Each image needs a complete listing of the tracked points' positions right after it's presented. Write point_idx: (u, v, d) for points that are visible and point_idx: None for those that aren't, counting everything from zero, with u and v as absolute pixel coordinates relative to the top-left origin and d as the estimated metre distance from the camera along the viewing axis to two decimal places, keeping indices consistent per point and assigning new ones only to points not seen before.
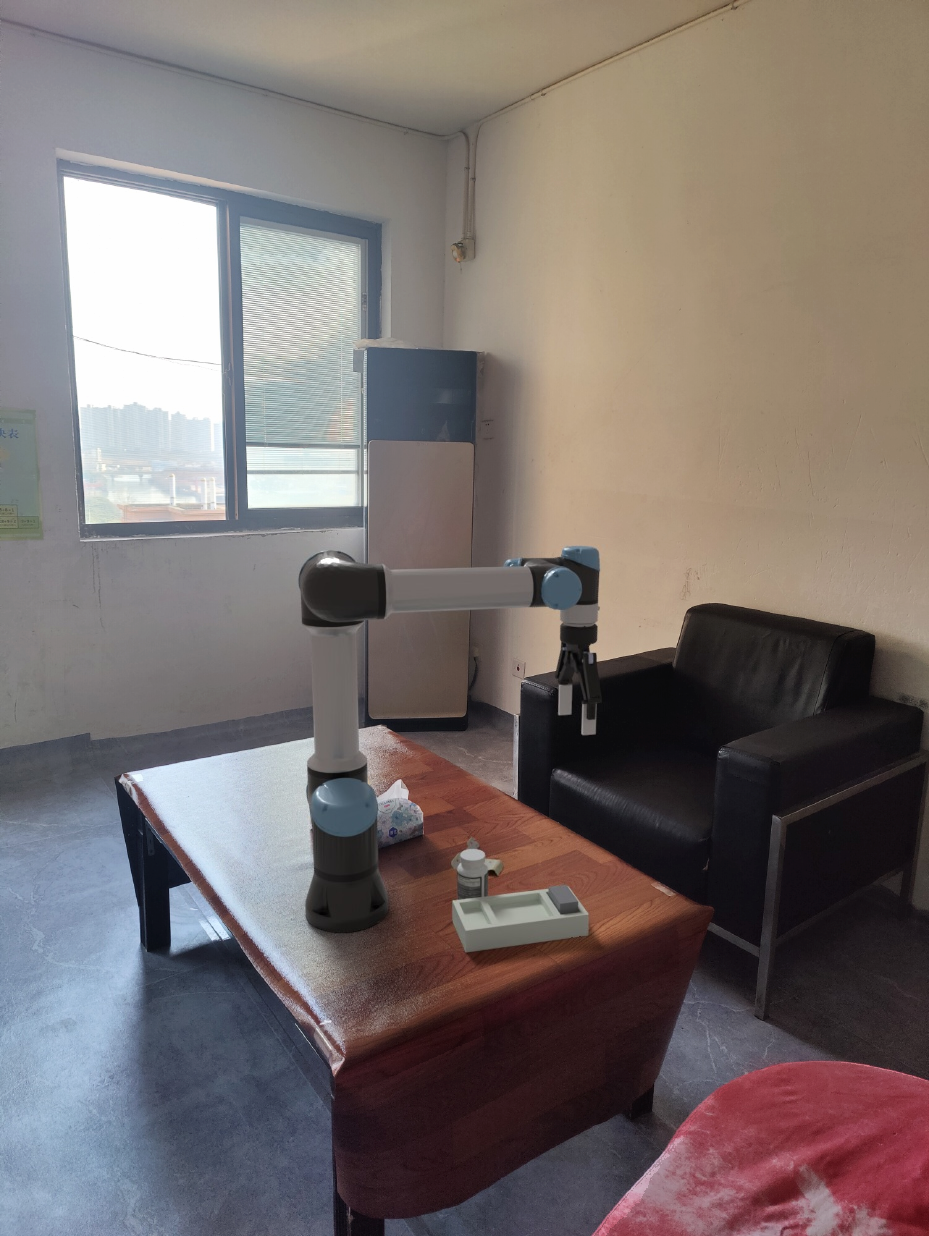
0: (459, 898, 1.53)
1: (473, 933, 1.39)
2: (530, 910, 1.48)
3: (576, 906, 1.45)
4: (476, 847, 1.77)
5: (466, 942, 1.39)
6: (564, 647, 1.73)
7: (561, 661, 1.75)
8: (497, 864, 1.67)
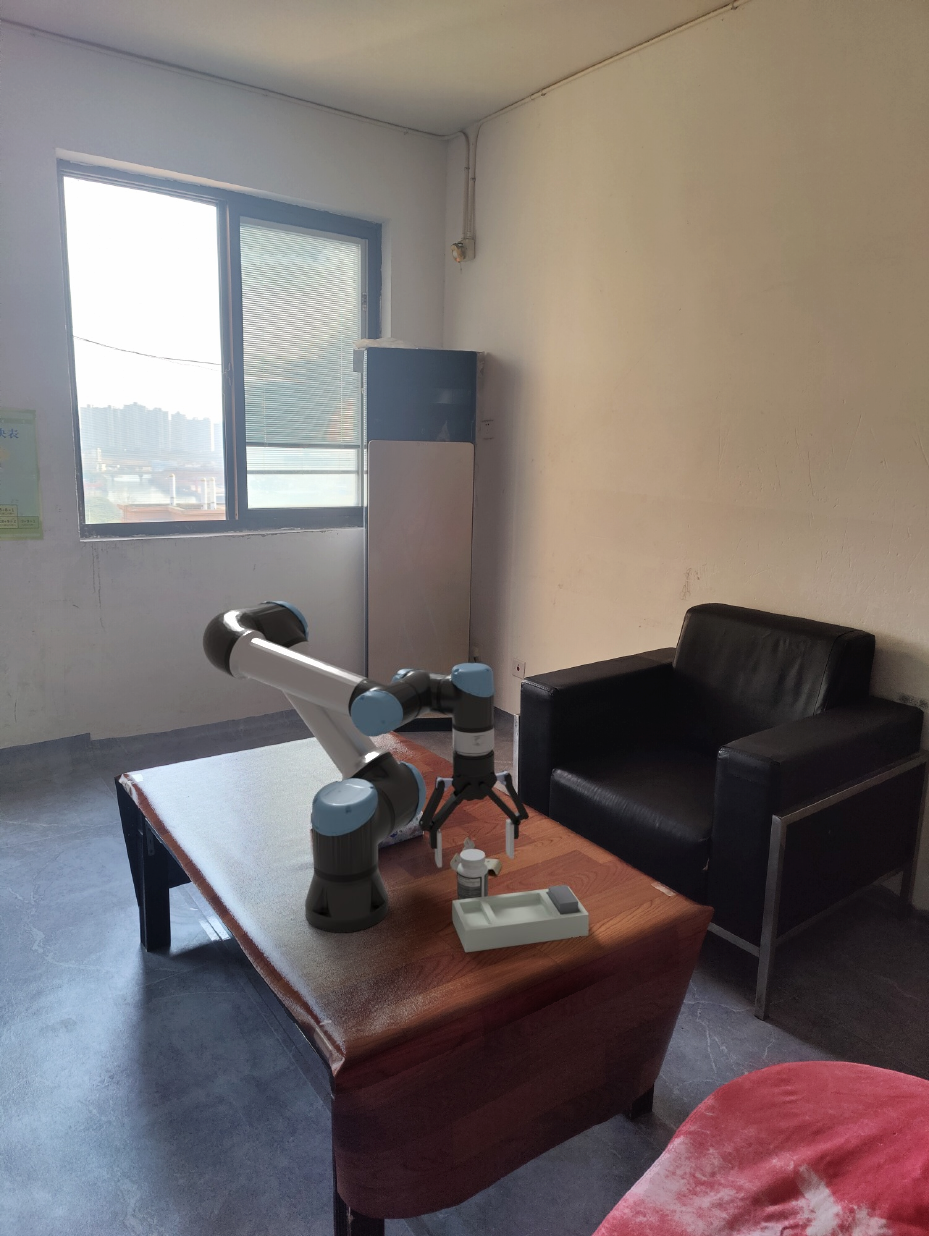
0: (459, 898, 1.53)
1: (473, 933, 1.39)
2: (530, 910, 1.48)
3: (576, 906, 1.45)
4: (472, 847, 1.77)
5: (466, 942, 1.39)
6: None
7: (509, 794, 1.53)
8: (496, 864, 1.68)
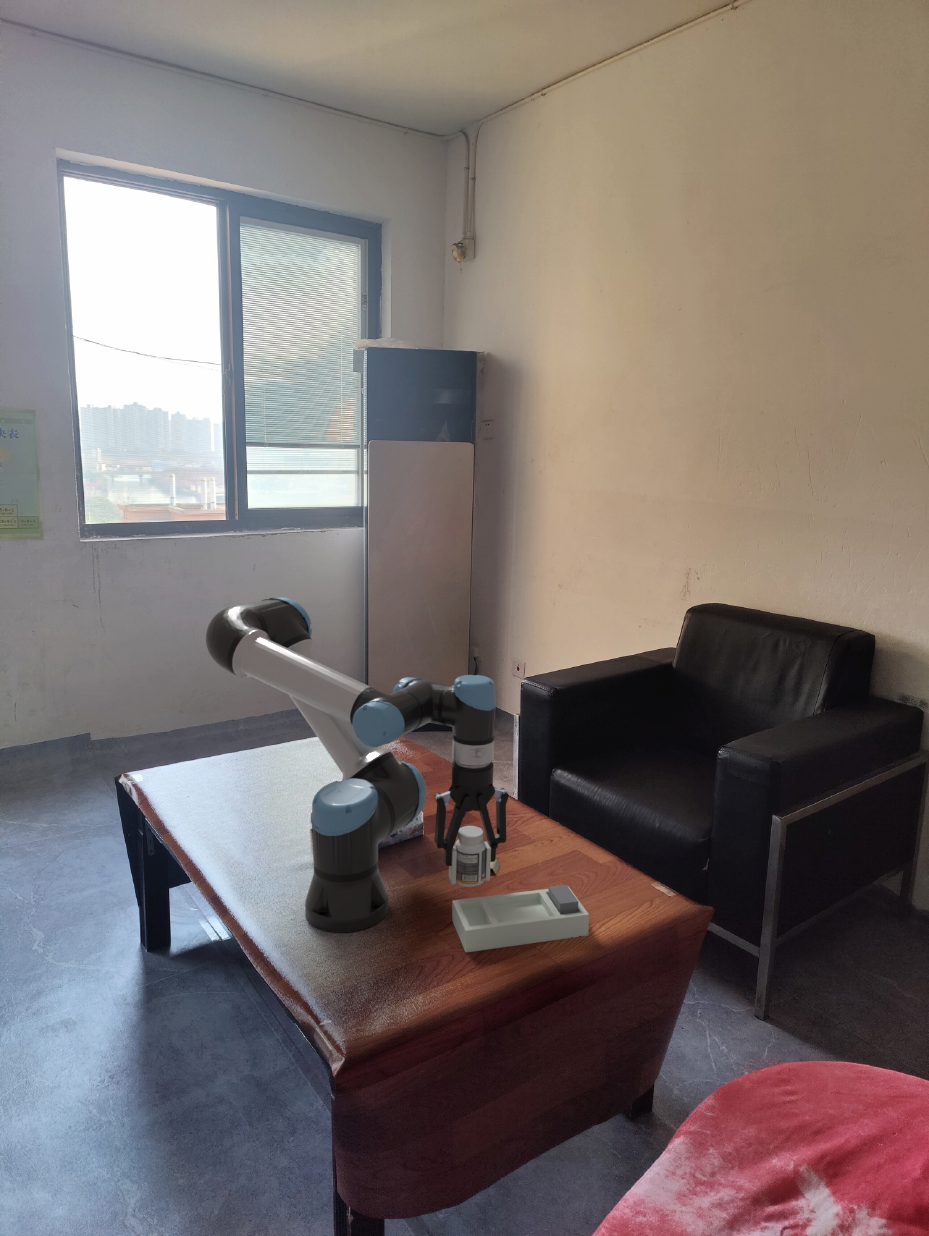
0: (456, 874, 1.52)
1: (473, 933, 1.39)
2: (530, 910, 1.48)
3: (576, 906, 1.45)
4: None
5: (466, 942, 1.39)
6: None
7: (496, 812, 1.54)
8: (494, 863, 1.68)
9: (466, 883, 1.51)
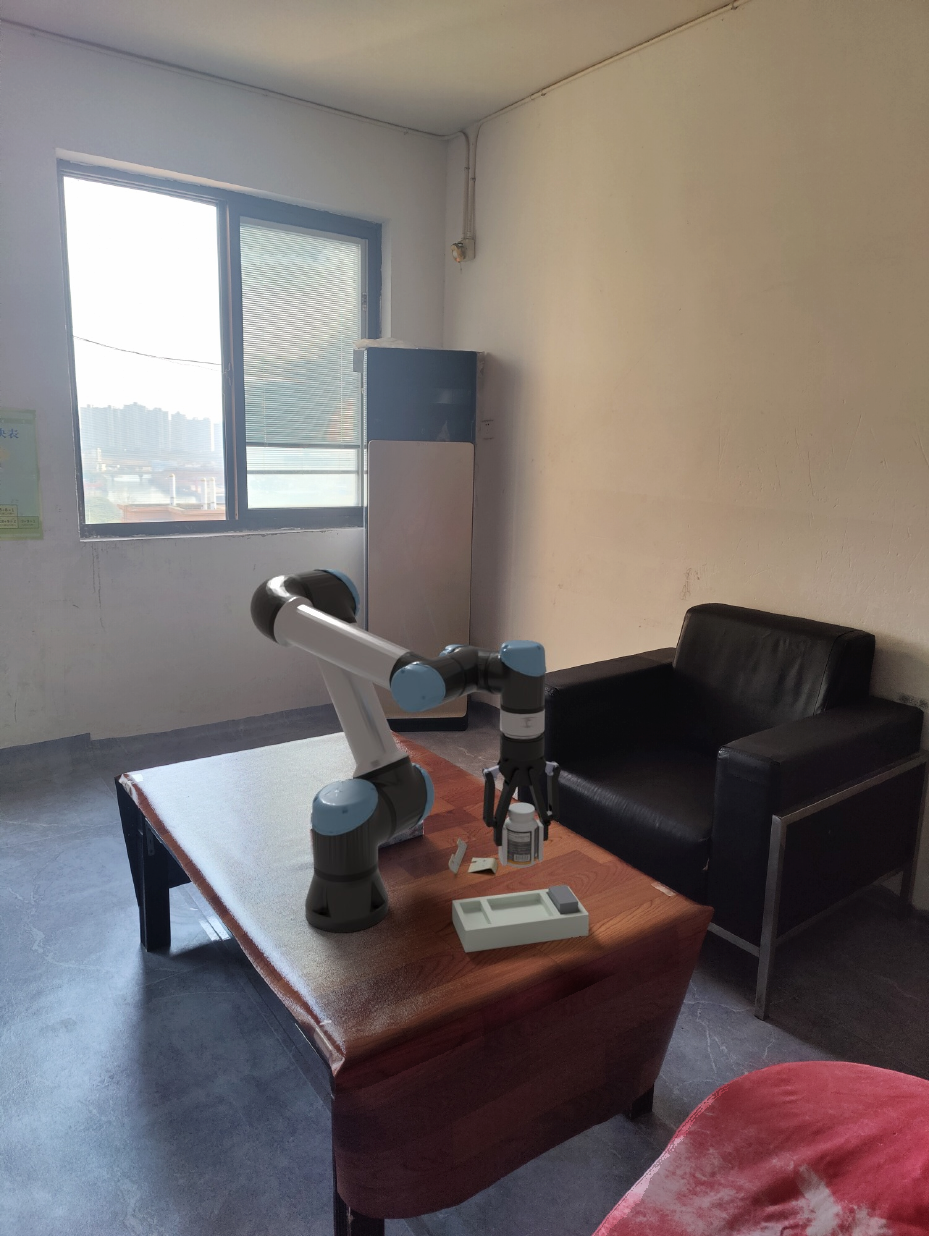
0: (507, 855, 1.42)
1: (473, 933, 1.39)
2: (530, 910, 1.48)
3: (576, 906, 1.45)
4: (465, 847, 1.77)
5: (466, 942, 1.39)
6: None
7: (547, 787, 1.44)
8: (493, 862, 1.68)
9: (518, 863, 1.41)
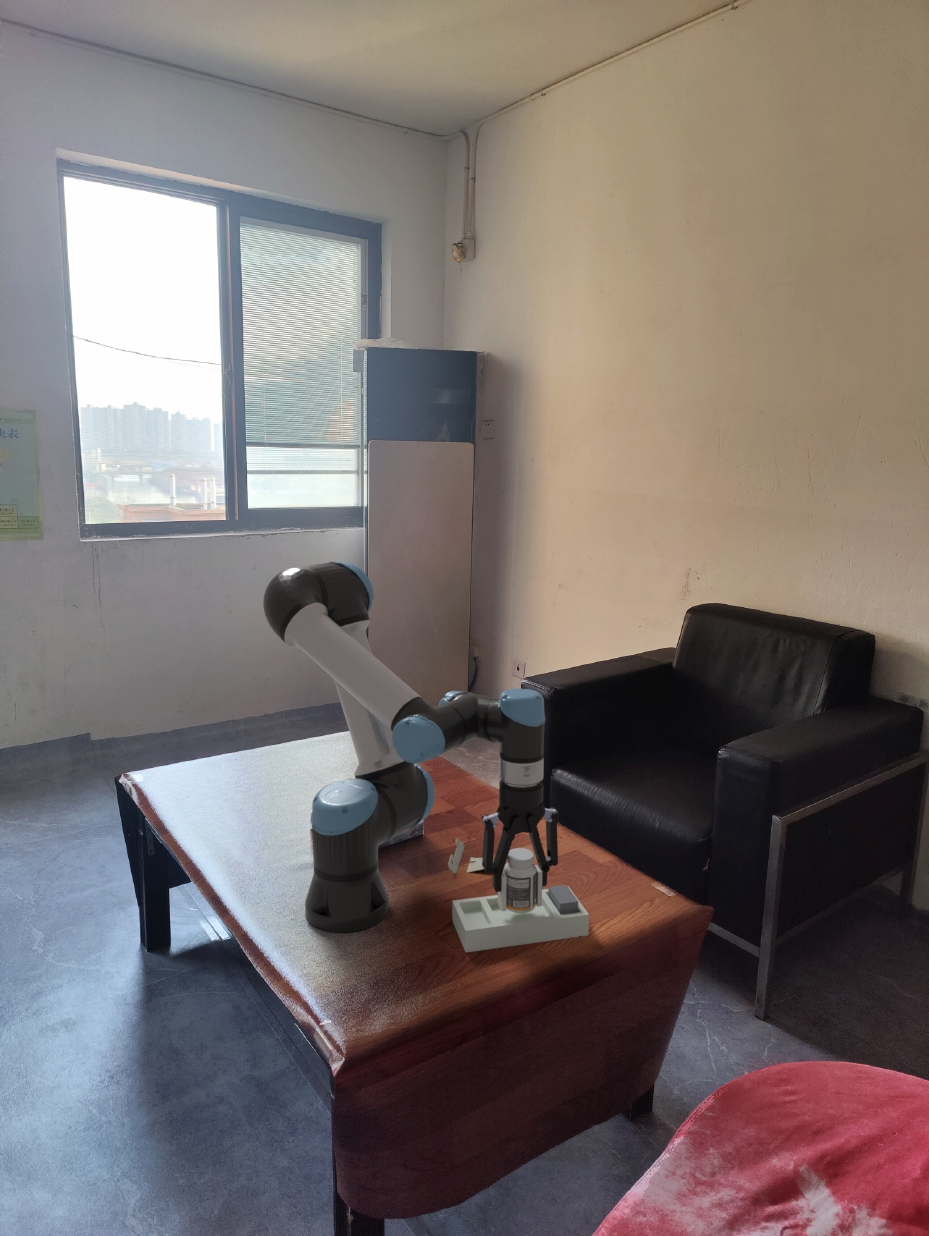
0: (506, 900, 1.44)
1: (473, 933, 1.39)
2: None
3: (576, 906, 1.45)
4: (462, 847, 1.77)
5: (466, 942, 1.39)
6: None
7: (546, 833, 1.46)
8: None
9: (517, 909, 1.43)
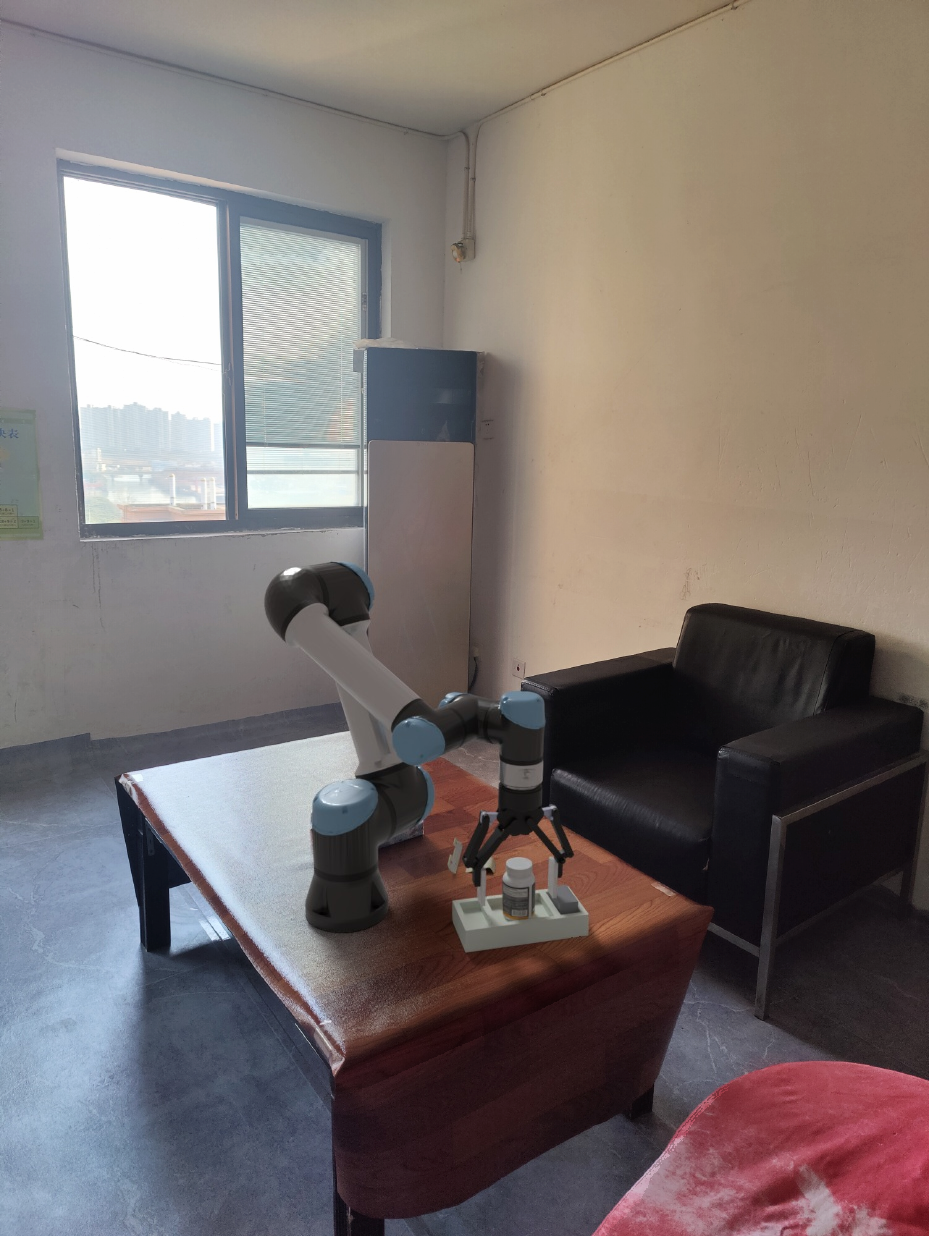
0: (505, 909, 1.44)
1: (473, 933, 1.39)
2: None
3: (576, 906, 1.45)
4: (460, 847, 1.76)
5: (466, 942, 1.39)
6: None
7: (554, 829, 1.46)
8: (491, 862, 1.68)
9: (516, 918, 1.43)
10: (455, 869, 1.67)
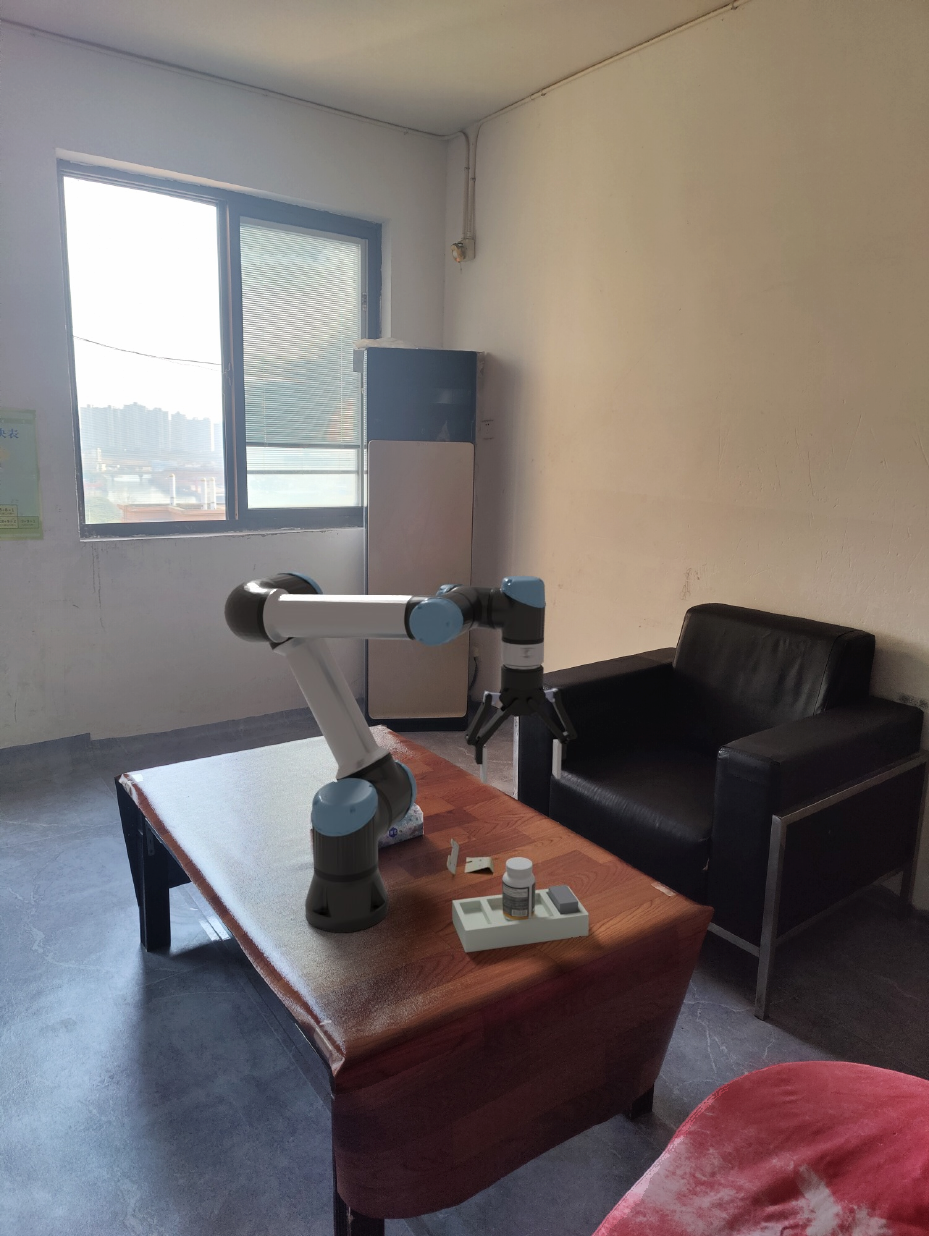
0: (505, 909, 1.44)
1: (473, 933, 1.39)
2: None
3: (576, 906, 1.45)
4: (457, 847, 1.76)
5: (466, 942, 1.39)
6: None
7: (557, 712, 1.50)
8: (489, 861, 1.69)
9: (516, 918, 1.43)
10: (454, 869, 1.67)
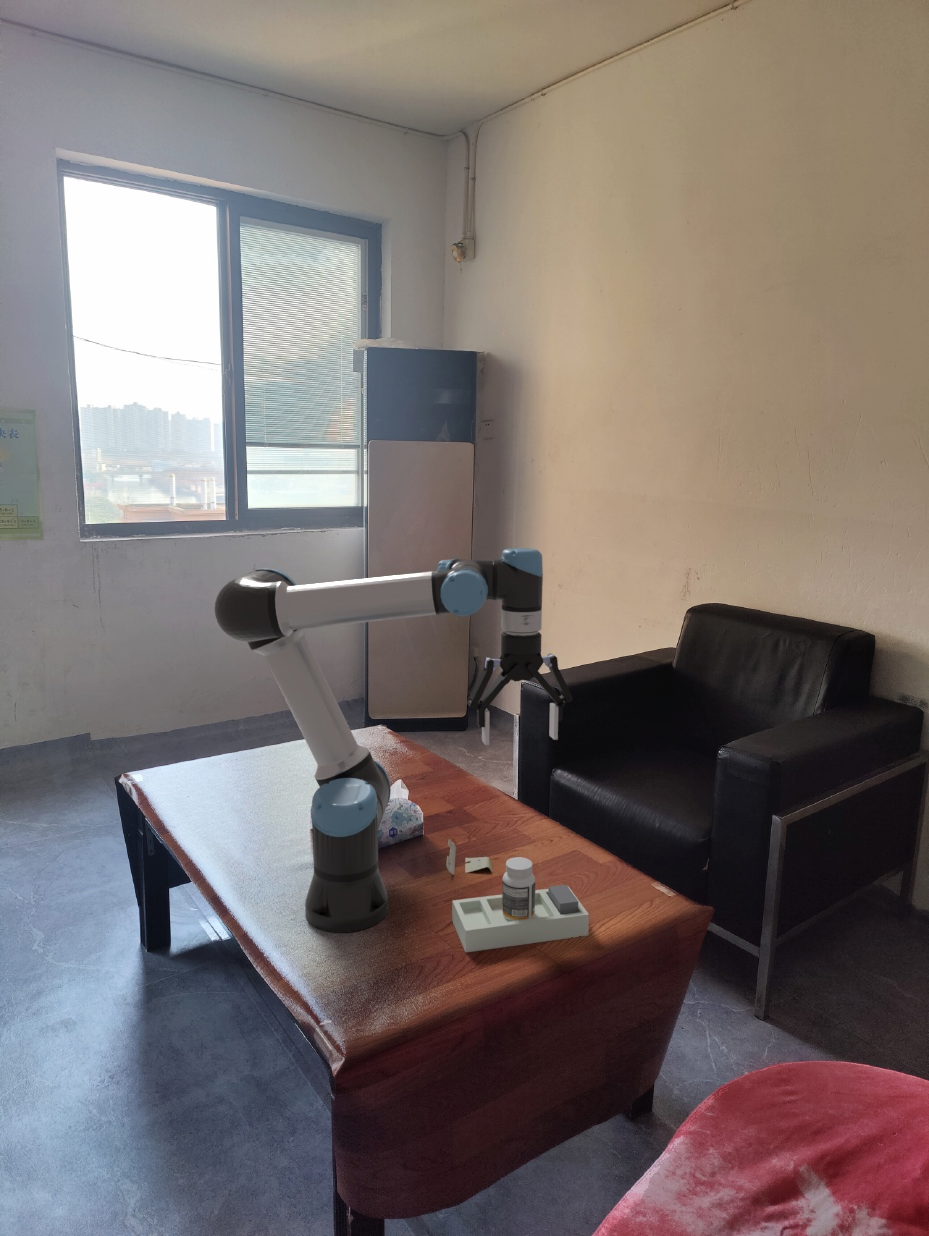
0: (505, 909, 1.44)
1: (473, 933, 1.39)
2: None
3: (576, 906, 1.45)
4: (454, 848, 1.76)
5: (466, 942, 1.39)
6: None
7: (553, 677, 1.59)
8: (488, 861, 1.69)
9: (516, 918, 1.43)
10: (453, 870, 1.67)
